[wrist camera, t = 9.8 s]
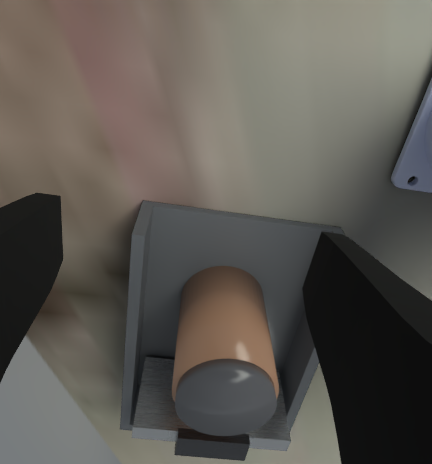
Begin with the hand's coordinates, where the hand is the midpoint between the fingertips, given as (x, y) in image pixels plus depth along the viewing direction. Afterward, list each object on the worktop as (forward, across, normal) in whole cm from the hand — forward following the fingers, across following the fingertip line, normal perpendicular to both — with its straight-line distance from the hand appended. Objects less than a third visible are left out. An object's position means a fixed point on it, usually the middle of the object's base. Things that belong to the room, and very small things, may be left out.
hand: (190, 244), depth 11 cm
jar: (+9, -3, +10) cm, 14 cm away
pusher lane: (+10, -3, +12) cm, 15 cm away
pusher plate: (+10, -3, +16) cm, 19 cm away
